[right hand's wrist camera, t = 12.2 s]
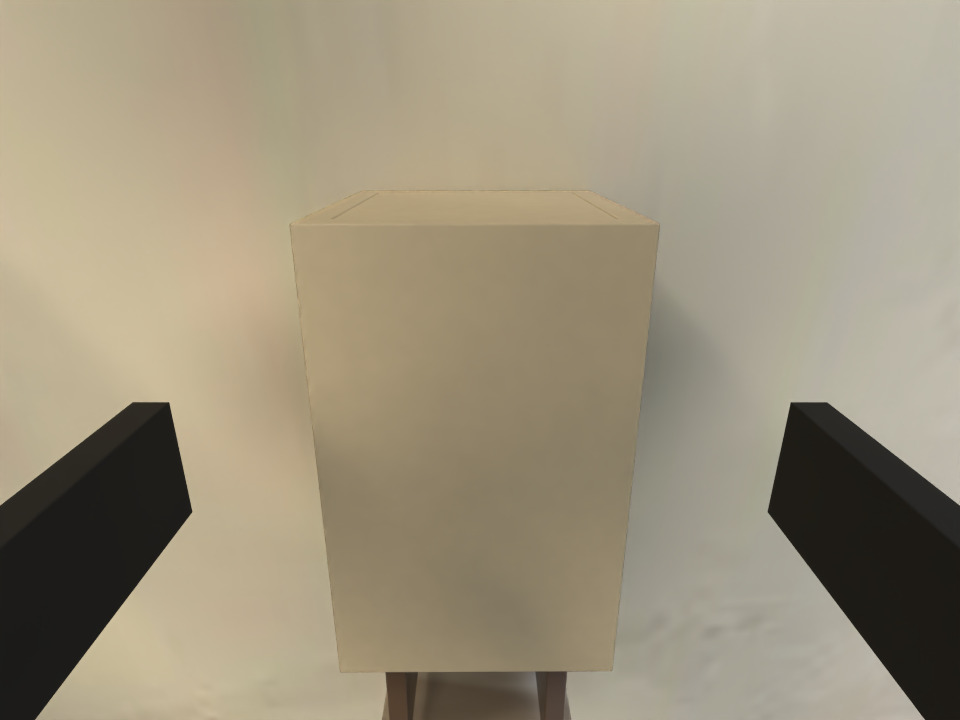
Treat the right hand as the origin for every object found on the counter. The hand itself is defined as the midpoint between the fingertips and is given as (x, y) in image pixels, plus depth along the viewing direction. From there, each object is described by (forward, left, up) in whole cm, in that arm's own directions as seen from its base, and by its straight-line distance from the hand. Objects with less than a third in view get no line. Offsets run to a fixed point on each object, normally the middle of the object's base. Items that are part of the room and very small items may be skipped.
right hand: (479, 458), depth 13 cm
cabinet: (+3, -3, -15) cm, 16 cm away
